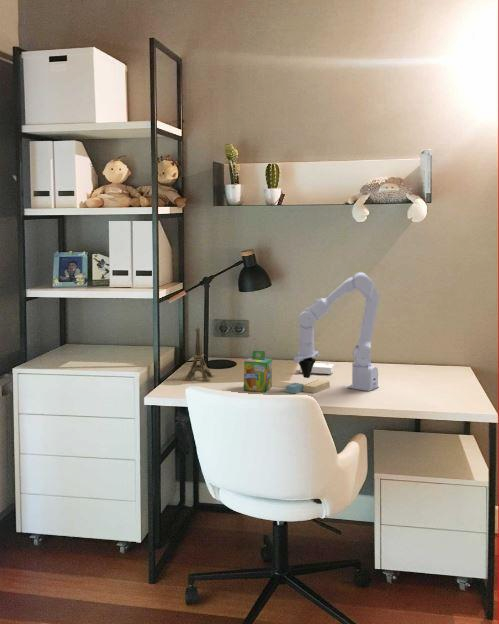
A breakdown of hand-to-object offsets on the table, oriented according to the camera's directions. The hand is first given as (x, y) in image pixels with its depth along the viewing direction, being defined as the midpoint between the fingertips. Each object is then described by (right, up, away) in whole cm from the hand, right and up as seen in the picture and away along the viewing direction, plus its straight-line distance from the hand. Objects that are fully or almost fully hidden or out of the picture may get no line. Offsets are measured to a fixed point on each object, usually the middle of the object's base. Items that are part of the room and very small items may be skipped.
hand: (306, 377), depth 297 cm
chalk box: (-19, -5, -2) cm, 19 cm away
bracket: (+6, -1, +25) cm, 26 cm away
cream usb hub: (+4, -4, -3) cm, 6 cm away
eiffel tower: (-43, -2, +16) cm, 46 cm away
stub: (-5, -5, -6) cm, 9 cm away
